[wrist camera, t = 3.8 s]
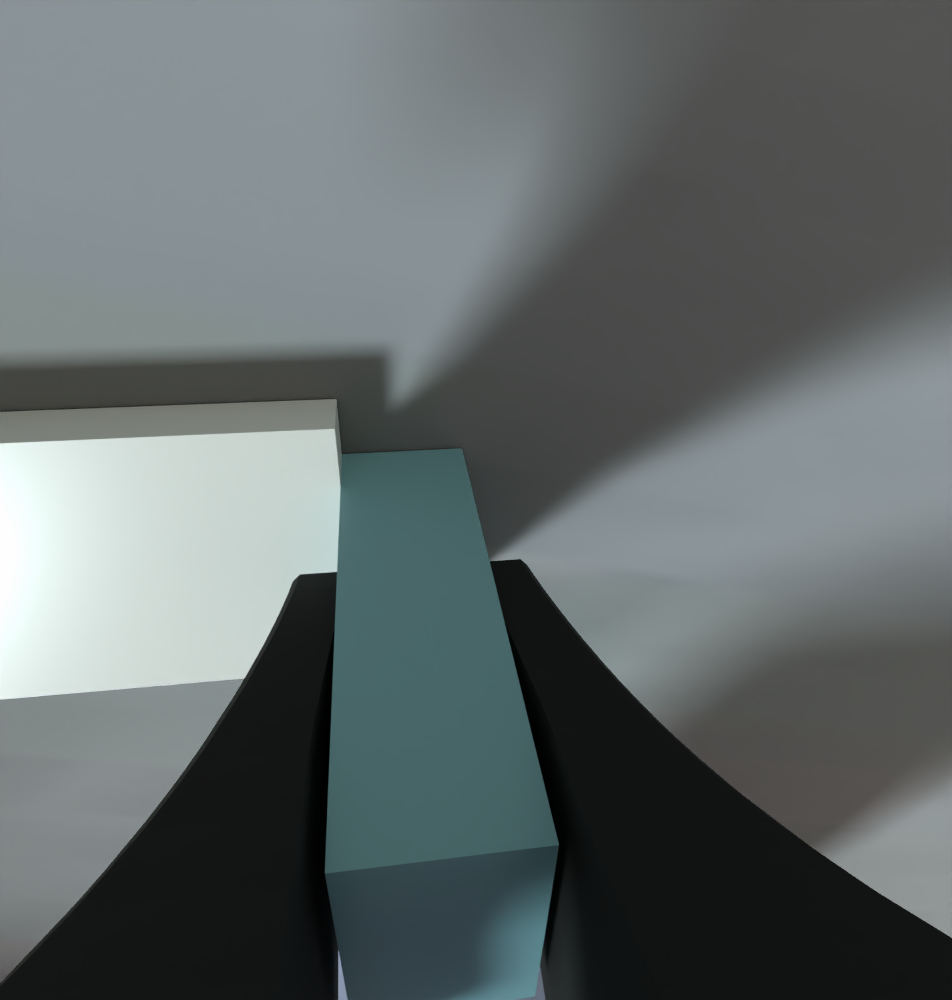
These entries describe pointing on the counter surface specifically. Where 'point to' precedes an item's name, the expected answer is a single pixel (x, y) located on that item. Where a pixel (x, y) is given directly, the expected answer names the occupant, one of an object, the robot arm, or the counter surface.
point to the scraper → (356, 665)
